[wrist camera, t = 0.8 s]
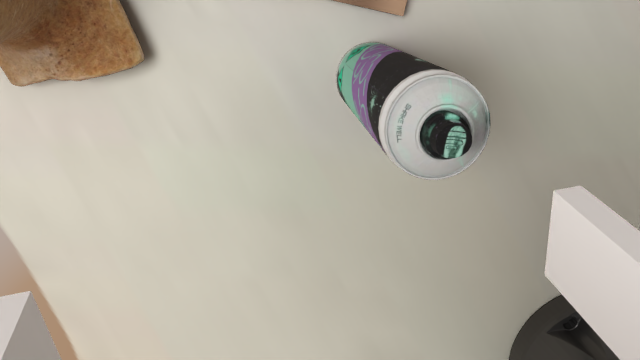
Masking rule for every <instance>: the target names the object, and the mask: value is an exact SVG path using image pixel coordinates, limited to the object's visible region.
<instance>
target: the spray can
mask: <svg viewBox="0 0 640 360" xmlns="http://www.w3.org/2000/svg"><path fill="white" fill-rule="evenodd" d="M336 83H337V88H338V91H339V93H340V95H341V97H342V99H343V100H344V102H345V103H346V104H347V105H348V107H349V108H350V109H351V110H352V112H353V113H354V114H355V115H356V117H357V118H358V119H359V121H360V122H361V123H362V124H363V126H364V127H365V128H366V129H367V131H368V132H369V133H370V134H371V136H372V137H373V138H374V139H375V141H376V142H377V143H378V145H379V146H380V147H381V148H382V150H383V151H384V152H385V153H386V155H387V156H388V157H389V158H390V159H391V161H392V162H393V163H394V164H395V165H396V166H398V167H399V168H400V169H402V170H403V171H405V172H407V173H408V174H410V175H413V176H415V177H417V178H421V179H426V180H440V179H445V178H449V177H452V176H454V175H457V174H459V173H460V172H462V171H464V170H465V169H467V168H468V167H469V166H470V165H471V164H472V163H474V162H475V160H476V159H477V158H478V157H479V155H480V154H481V152H482V151H483V149H484V147H485V145H486V142H487V139H488V136H489V131H490V113H489V109H488V106H487V103H486V101H485V99H484V97H483V95H482V94H481V93H480V92H479V91H478V89H477V88H476V87H475V86H473V84H472V83H470V82H469V81H468V80H467V79H465V78H464V77H462V76H460V75H458V74H456V73H453V72H451V71H449V70H446V69H444V68H441V67H439V66H436V65H434V64H431V63H429V62H427V61H424V60H422V59H419V58H417V57H414V56H412V55H409V54H407V53H404V52H402V51H400V50H397V49H395V48H392V47H390V46H387V45H385V44H381V43H377V42H367V43H362V44H360V45H357V46H355V47H353V48H352V49H350V50H349V51H348V52H347V53H346V54H345V55H344V57H343V58H342V59H341V61H340V63H339V66H338V69H337V73H336Z"/></svg>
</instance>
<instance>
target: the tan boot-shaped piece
mask: <svg viewBox="0 0 640 360" xmlns="http://www.w3.org/2000/svg"><path fill="white" fill-rule="evenodd" d="M142 61H144V53H143V51H142V48H141V46H140V44H139V41H138V39H137V37H136V35H135V33H134V31H133V29H132V27H131V25H130V22H129V19H128V17H127V15H126V13H125V11H124V9H123V7H122V5H121V3H120V1H119V0H0V66H1V68H2V69H3V71H4V73H5V74H6V76H7V77H8V79H9V80H10V82H11V83H12V84H13V85H16V86H26V85H29V84H33V83H38V82H42V81H45V80H49V79H57V80H61V81H66V80H74V81H82V80H86V79H91V78H95V77H100V76H106V75H109V74H113V73H116V72H119V71H123V70H126V69H130V68H133V67H134V66H136V65H138V64H139V63H141V62H142Z"/></svg>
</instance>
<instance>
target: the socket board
mask: <svg viewBox="0 0 640 360" xmlns="http://www.w3.org/2000/svg"><path fill="white" fill-rule="evenodd" d="M333 1H337V2H342V3H346V4H351V5H355V6H359V7H364V8H368V9H373V10H377V11H382V12H386V13H390V14H395V15H400V16H403V15H404V11H405V6H406V2H407V0H333Z"/></svg>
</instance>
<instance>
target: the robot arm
mask: <svg viewBox="0 0 640 360" xmlns="http://www.w3.org/2000/svg"><path fill="white" fill-rule="evenodd" d="M544 275H545V276H546V277H547V278H548V279H549V280H550V282H551V283H552V284H553V285H554V286H555V287H556V288H557V289H558V291H559V292H560V293H561V294H562V295H561V296H559V297H557V298H555V299H554V300H552V301H550V302H549V303H547V304H546V305H544V306H543V307H542V308H540V309H539V310H538V311H537V312H536V313H535V314H534V315H533V316H532V317H531V318H530V319H529V320H528V321H527V322H526V323H525V325H524V326H523V327H522V329H521V330H520V332H519V334H518V335H517V337H516V339H515V341H514V344H513V346H512V349H511V353H510V357H509V360H640V231H639V230H638V229H636V228H635V227H634V226H632V225H631V224H630V223H629V222H627V221H626V220H625V219H623V218H622V217H621V216H620V215H618V214H617V213H616V212H614V211H613V210H612V209H611V208H609V207H608V206H607V205H605V204H604V203H603V202H602V201H600V200H599V199H598V198H596V197H595V196H594V195H593V194H591V193H590V192H589V191H588V190H586V189H585V188H584V187H582V186H581V185H579V186H574V187H569V188H564V189H559V190H554V191H553V200H552V209H551V219H550V228H549V237H548V246H547V256H546V265H545V274H544ZM0 360H61V357H60V355H59V353H58V351H57V349H56V346H55V344H54V342H53V339H52V337H51V335H50V333H49V331H48V328H47V326H46V324H45V322H44V320H43V317H42V315H41V313H40V310H39V308H38V306H37V304H36V301H35V299H34V297H33V295H32V293H31V291H28V292H23V293H17V294H13V295H7V296H2V297H0Z"/></svg>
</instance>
